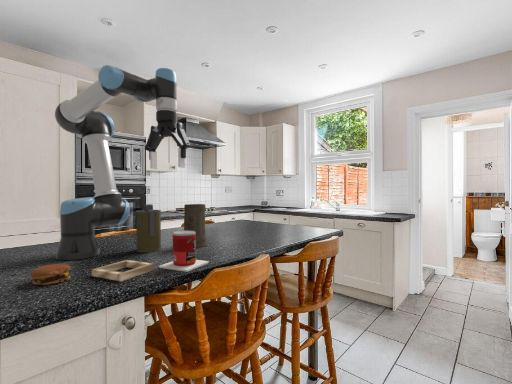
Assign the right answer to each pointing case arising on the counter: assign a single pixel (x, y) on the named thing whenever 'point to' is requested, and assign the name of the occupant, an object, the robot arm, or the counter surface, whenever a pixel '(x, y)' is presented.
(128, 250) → the counter surface
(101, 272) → the oak holder frame
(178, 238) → the canned food
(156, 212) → the canister
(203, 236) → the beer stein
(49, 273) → the burger
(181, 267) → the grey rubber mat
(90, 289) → the counter surface
